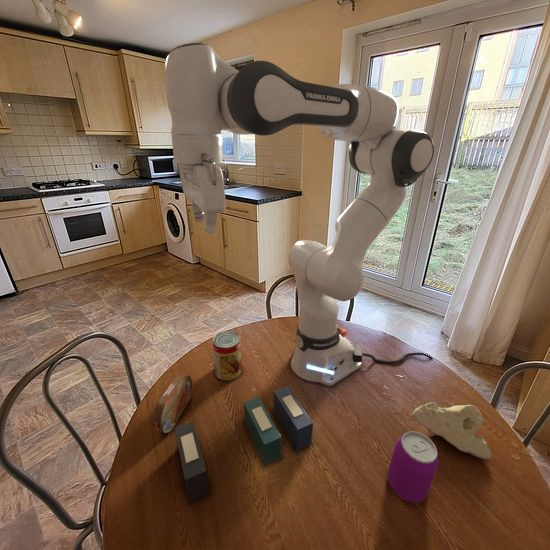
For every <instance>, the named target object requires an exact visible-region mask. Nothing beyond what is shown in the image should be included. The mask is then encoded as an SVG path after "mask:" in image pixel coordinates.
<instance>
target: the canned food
mask: <svg viewBox="0 0 550 550" xmlns="http://www.w3.org/2000/svg"><path fill="white" fill-rule="evenodd" d="M212 350H213V359H214V360H213V362H214V373H215V377H217V378H218V379H220V380H222V381H232V380H235V379H236V378H238V377H239V376H240V375H241V372H242V353H241V351H242V349H241V336H240V334H239V333H237V332H236V331H232V330H223V331H220V332H217V333H216V334H215V335H214V336H213V338H212Z"/></svg>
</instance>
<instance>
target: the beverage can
mask: <svg viewBox="0 0 550 550" xmlns="http://www.w3.org/2000/svg"><path fill="white" fill-rule="evenodd" d="M439 465H440V463H439V455H438V449H437V447H436V445H435V443H434V442H433V441H432V439H431V438H429V437H428V436H427V435H426V434H423V433H422V432H418V431H415V430H414V431H413V430H411V431H406V432H405V433H404V434H403V435H402V436H400V437H399V438H398V439H397V440H396V442H395V444H394V449H393V452H392V455H391V459H390V463H389V465H388V469H387V481H388V484H389V486H390V487H391V489H392V491H393V492H394V493H395V494H396V495H397V496H398V497H399V498H401V499H402V500H404V501H406V502H409V503H413V504H414V503H415V504H416V503H417V504H418V503H420V502H423V501H424V500H425V499H426V498H427V496H428V493H429V491H430V488H431V486H432V483H433V481H434V478H435V476H436V473H437V471H438V468H439Z"/></svg>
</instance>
